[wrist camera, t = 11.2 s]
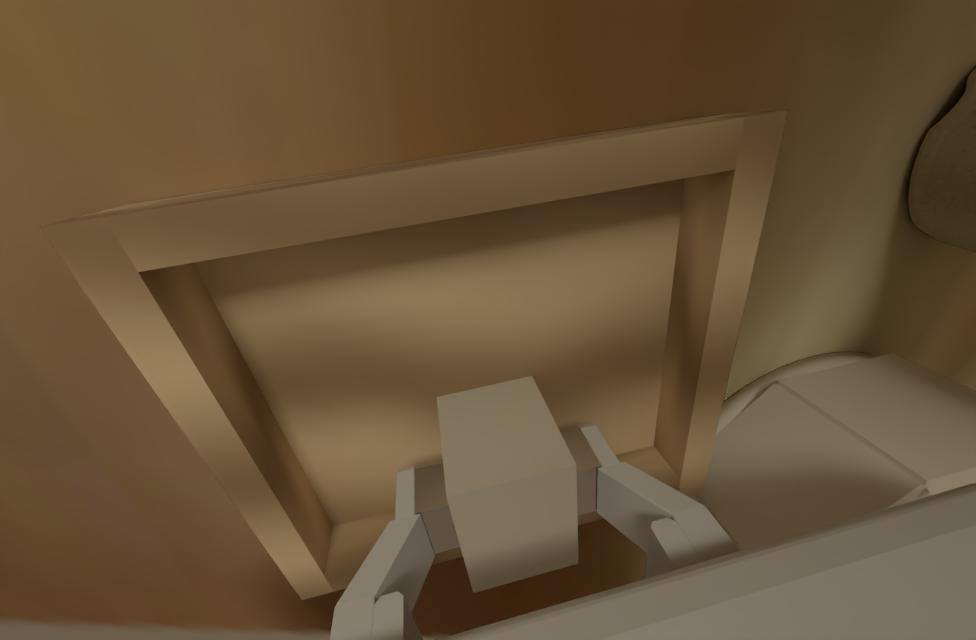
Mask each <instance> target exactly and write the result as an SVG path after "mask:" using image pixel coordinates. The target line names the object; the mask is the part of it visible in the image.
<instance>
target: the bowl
mask: <svg viewBox="0 0 976 640" xmlns="http://www.w3.org/2000/svg"><path fill="white" fill-rule="evenodd" d="M972 483H976V391H975V390H973V389H971V388H968V387H966V386H964V385H962V384H960V383H957V382H955V381H953V380H951V379H949V378H946V377H944V376H942V375H940V374H938V373H936V372H933V371H931V370H929V369H927V368H925V367H922V366H920V365H918V364H916V363H914V362H911V361H909V360H907V359H905V358H903V357H900V356H898V355H896V354H888V355H884V356H879V357H875V356H871V355H868V354H864V353H858V352H832V353H827V354H821V355H816V356H812V357H809V358H805V359H802V360H798V361H796V362H793V363H791V364H788V365H786V366H783V367H781V368H778V369H776V370H774V371H772V372H770V373H768V374H766V375H764V376H762V377H760V378H759V379H757V380H755V381H754V382H752V383H750V384H749V385H747V386H745V387H744V388H742V389H741V390H739V391H738V392H736V393H735V394H734V395H732V396H731V397H730V398H728V399H727V400H725V401H724V402H723V405H722V409H721V414H720V418H719V423H718V427H717V432H716V436H715V441H714V445H713V449H712V454H711V458H710V463H709V467H708V472H707V476H706V481H705V485H704V490H703V492H701V493H698V494H694V495H690V496H688V497H690V498H691V499H693V500H695V501H697V502H699V503H700V504H702V505H704V506H705V507H706V508H707V509H708V511H709V512H710V513H711V514H712V516H713V517H714V518H715V519H716V521H717V522H718V523H719V525H720V526H721V527H722V528H723V530H724V531H725V532H726V533H727V535H728V536H729V537H730V538H731V540H732V541H733V542H734V544H735V545H736V546H737V547H738V549H739V550H740V551H742V550H746V549H749V548H752V547H756V546H759V545H763V544H766V543H770V542H773V541H776V540H780V539H783V538H787V537H790V536H793V535H797V534H800V533H804V532H807V531H811V530H814V529H817V528H821V527H824V526H828V525H831V524H835V523H838V522H841V521H845V520H848V519H852V518H855V517H859V516H862V515H865V514H869V513H872V512H876V511H879V510H883V509H886V508H889V507H893V506H896V505H900V504H903V503H907V502H910V501H913V500H917V499H920V498H924V497H927V496H931V495H934V494H937V493H941V492H944V491H948V490H951V489H955V488H958V487H961V486H965V485H968V484H972Z"/></svg>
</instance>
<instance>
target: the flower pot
mask: <svg viewBox="0 0 976 640" xmlns="http://www.w3.org/2000/svg"><path fill="white" fill-rule="evenodd" d="M908 205H909V211H910V215H911V219H912V221H913V223H914V225H915V226H916V227H917V228H919V229H920V230H922V231H923V232H925V233H926V234H928V235H930V236H931V237H933V238H934V239H936V240H938V241H940V242H943V243H947V244H951V245H954V246H958V247H961V248H964V249H967V250H970V251H973V252H976V68H975V69H974V70H973V71H972V73H971V74H970V75H969V77H968V79H967V83H966V90H965V93H964V94H963V96H962V97H961V99H960V100H959V102H958V103H957V104H956V105H955V106H954V107H953V108H952V109H951V110H950V112H949V113H948V114H946V115H945V116H944V117H943V118H942V119H941V120H940V121H939V122H938V123H937V124H936V125H934V126H933V127H932V128H931V129H930V130H929V131H928V133H927V134H926V136H925V139H924V141H923V143H922V145H921V147H920V150H919V152H918V155H917V157H916V160H915V164H914V167H913V170H912V174H911V179H910V185H909V197H908Z"/></svg>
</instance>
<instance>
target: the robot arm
mask: <svg viewBox="0 0 976 640" xmlns="http://www.w3.org/2000/svg"><path fill="white" fill-rule="evenodd" d="M560 433H561V435H562V437H563V439H564V441H565V443H566V445H567V447H568V449H569V451H570V453H571V455H572V457H573V459H574V461H575V463H576V472H577V515H581V514H586V513H590V512H594V511H597V513H598V514H599V515H600V516H602V517H603V518H604V519H605V520H606V521H608V522H609V523H610V524H611V525H613V526H614V527H615V528H616V529H617V530H619V531H620V532H621V533H622V534H623V535H625V536H626V537H627V538H628V539H630V540H631V541H632V542H633V543H634V544H636V545H637V546H638V547H639V548H641V549H642V550H643V551H644V552H645V553H647V559H646V566H645V573H644V579H643V580H639V581H636V582H632V583H629V584H625V585H622V586H618V587H615V588H612V589H608V590H605V591H601V592H598V593H594V594H591V595H588V596H584V597H581V598H577V599H574V600H570V601H567V602H563V603H560V604H557V605H553V606H550V607H546V608H543V609H539V610H536V611H533V612H529V613H526V614H522V615H519V616H516V617H512V618H509V619H505V620H502V621H498V622H495V623H492V624H488V625H485V626H481V627H478V628H474V629H471V630H468V631H464V632H461V633H457V634H454V635H450V636H447V637H444V638H440V639H437V640H976V483H972V484H968V485H965V486H961V487H958V488H955V489H951V490H948V491H944V492H941V493H937V494H934V495H931V496H927V497H924V498H920V499H917V500H913V501H910V502H907V503H903V504H900V505H896V506H893V507H889V508H886V509H883V510H879V511H876V512H872V513H869V514H865V515H862V516H859V517H855V518H852V519H848V520H845V521H841V522H838V523H835V524H831V525H828V526H824V527H821V528H817V529H814V530H811V531H807V532H804V533H800V534H797V535H793V536H790V537H787V538H783V539H780V540H776V541H773V542H770V543H766V544H763V545H759V546H756V547H752V548H749V549H746V550H742V551H740V550H739V549H738V547H737V546H736V545H735V544H734V542H733V541H732V540H731V538H730V537H729V536H728V535H727V533H726V532H725V531H724V530H723V528H722V527H721V526H720V525H719V523H718V522H717V521H716V519H715V518H714V517H713V516H712V514H711V513H710V512H709V511H708V509H707V508H706V507H705V506H704V505H702V504H700V503H699V502H697V501H695V500H693V499H691V498H690V497H688V496H686V495H684V494H682V493H681V492H679V491H677V490H675V489H673V488H672V487H670V486H668V485H666V484H664V483H663V482H661V481H659V480H657V479H655V478H654V477H652V476H650V475H648V474H646V473H645V472H643V471H641V470H639V469H637V468H636V467H634V466H632V465H630V464H628V463H627V462H620V461H619V460H618V458H617V457H616V455H615V454H614V452H613V451H612V449H611V448H610V446H609V444H608V443H607V441H606V440H605V438H604V437H603V435H602V434H601V432H600V430H599V429H598V427H597V426H596V424H594V423H593V422H592V423H588V424H584V425H580V426H577V427H572V428H568V429H564V430H560ZM457 547H460V544H459V540H458V537H457V533H456V530H455V526H454V523H453V519H452V515H451V512H450V508H449V505H448V501H447V497H446V488H445V478H444V467H443V459H441V460H436V461H431V462H427V463H422V464H417V465H414V466H409V467H405V468H400V469H398V471H397V478H396V501H395V520H392V521H389V523H388V524H387V526H386V528H385V529H384V531H383V532H382V534H381V535H380V537H379V539H378V540H377V542H376V543H375V545H374V546H373V548H372V549H371V551H370V553H369V554H368V556H367V557H366V559H365V560H364V562H363V564H362V565H361V567H360V568H359V570H358V571H357V573H356V574H355V576H354V578H353V579H352V581H351V582H350V584H349V585H348V587H347V589H346V590H345V592H344V593H343V595H342V596H341V598H340V599H339V601H338V603H337V604H336V606H335V609H334V615H333V622H332V628H331V634H330V640H423V638H422V636H421V634H420V632H419V629H418V627H417V625H416V623H415V620H414V618H413V616H412V614H411V613H412V611H413V608H414V606H415V603H416V601H417V598H418V596H419V594H420V591H421V589H422V586H423V584H424V581H425V579H426V577H427V574H428V572H429V569H430V567H431V565H432V562H433V560H434V557H435V555H434V554H437V553H440V552H444V551H447V550H450V549H454V548H457Z"/></svg>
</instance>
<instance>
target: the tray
mask: <svg viewBox="0 0 976 640" xmlns="http://www.w3.org/2000/svg"><path fill="white" fill-rule="evenodd" d="M787 114H788V110H784V111H767V112H751V113H735V114H718V115H708V116H701V117H695V118H688V119H682V120H675V121H669V122H662V123H656V124H649V125H643V126H636V127H630V128H623V129H617V130H610V131H604V132H597V133H591V134H584V135H578V136H571V137H565V138H558V139H552V140H545V141H539V142H532V143H526V144H519V145H513V146H506V147H500V148H493V149H487V150H480V151H474V152H467V153H460V154H454V155H447V156H441V157H434V158H428V159H421V160H415V161H408V162H402V163H395V164H389V165H382V166H376V167H369V168H363V169H356V170H350V171H343V172H337V173H330V174H324V175H317V176H311V177H304V178H298V179H291V180H285V181H278V182H272V183H265V184H259V185H252V186H246V187H239V188H233V189H226V190H220V191H213V192H207V193H200V194H194V195H187V196H180V197H174V198H167V199H161V200H154V201H148V202H141V203H135V204H128V205H124V206H120V207H116V208H112V209H108V210H104V211H100V212H96V213H92V214H88V215H85V216H81V217H77V218H73V219H69V220H65V221H61V222H57V223H53V224H49V225H45V226H41V227H39V228H40V229H41V231H42V232H43V234H44V235H45V237H46V238H47V239H48V241H49V242H50V244H51V245H52V246H53V248H54V249H55V251H56V252H57V254H58V255H59V256H60V258H61V259H62V261H63V262H64V264H65V265H66V266H67V268H68V269H69V271H70V272H71V273H72V275H73V276H74V278H75V279H76V281H77V282H78V283H79V285H80V286H81V288H82V289H83V290H84V292H85V293H86V295H87V296H88V298H89V299H90V300H91V302H92V303H93V305H94V306H95V307H96V309H97V310H98V312H99V313H100V315H101V316H102V317H103V319H104V320H105V322H106V323H107V325H108V326H109V327H110V329H111V330H112V332H113V333H114V334H115V336H116V337H117V339H118V340H119V342H120V343H121V344H122V346H123V347H124V349H125V350H126V351H127V353H128V354H129V356H130V357H131V359H132V360H133V361H134V363H135V364H136V366H137V367H138V368H139V370H140V371H141V373H142V374H143V376H144V377H145V378H146V380H147V381H148V383H149V384H150V385H151V387H152V388H153V390H154V391H155V393H156V394H157V395H158V397H159V398H160V400H161V401H162V403H163V404H164V405H165V407H166V408H167V410H168V411H169V412H170V414H171V415H172V417H173V418H174V420H175V421H176V422H177V424H178V425H179V427H180V428H181V429H182V431H183V432H184V434H185V435H186V437H187V438H188V439H189V441H190V442H191V444H192V445H193V446H194V448H195V449H196V451H197V452H198V454H199V455H200V456H201V458H202V459H203V461H204V462H205V464H206V465H207V466H208V468H209V469H210V471H211V472H212V473H213V475H214V476H215V478H216V479H217V481H218V482H219V483H220V485H221V486H222V488H223V489H224V490H225V492H226V493H227V495H228V496H229V498H230V499H231V500H232V502H233V503H234V505H235V506H236V507H237V509H238V510H239V512H240V513H241V515H242V516H243V517H244V519H245V520H246V522H247V523H248V525H249V526H250V527H251V529H252V530H253V532H254V533H255V534H256V536H257V537H258V539H259V540H260V542H261V543H262V544H263V546H264V547H265V549H266V550H267V551H268V553H269V554H270V556H271V557H272V559H273V560H274V561H275V563H276V564H277V566H278V567H279V568H280V570H281V571H282V573H283V574H284V576H285V577H286V578H287V580H288V581H289V583H290V584H291V586H292V587H293V588H294V590H295V591H296V593H297V594H298V595H299V597H300V598H301V600H305V599H309V598H312V597H316V596H320V595H323V594H327V593H331V592H335V591H338V590H342V589H346V588H347V587H348V585H349V584H350V582H351V581H352V579H353V578H354V576H355V574H356V573H357V571H358V570H359V568H360V567H361V565H362V564H363V562H364V560H365V559H366V557H367V556H368V554H369V553H370V551H371V549H372V548H373V546H374V545H375V543H376V542H377V540H378V539H379V537H380V535H381V534H382V532H383V531H384V529H385V528H386V526H387V524H388V523H389V521H392V520H395V501H396V478H397V471H398V469H400V468H405V467H409V466H414V465H417V464H422V463H427V462H431V461H436V460H441V459H443V457H442V447H441V436H440V426H439V416H438V406H437V397H439V396H444V395H448V394H453V393H457V392H462V391H466V390H471V389H475V388H480V387H484V386H489V385H493V384H498V383H502V382H507V381H511V380H516V379H520V378H525V377H529V376H532V377H533V379H534V381H535V383H536V385H537V387H538V389H539V391H540V393H541V395H542V397H543V399H544V401H545V403H546V405H547V407H548V409H549V411H550V413H551V415H552V417H553V419H554V421H555V423H556V425H557V427H558V429H559V431H560V430H564V429H568V428H572V427H577V426H580V425H584V424H588V423H592V422H593V423H594V424H596V426H597V427H598V429H599V430H600V432H601V434H602V435H603V437H604V438H605V440H606V441H607V443H608V444H609V446H610V448H611V449H612V451H613V452H614V454H615V455H616V457H617V458H618V460H619V461H620V462H627V463H628V464H630V465H632V466H634V467H636V468H637V469H639V470H641V471H643V472H645V473H646V474H648V475H650V476H652V477H654V478H655V479H657V480H659V481H661V482H663V483H664V484H666V485H668V486H670V487H672V488H673V489H675V490H677V491H679V492H681V493H682V494H684V495H686V496H690V495H694V494H698V493H701V492H703V490H704V485H705V481H706V476H707V472H708V467H709V463H710V458H711V454H712V449H713V445H714V441H715V436H716V432H717V427H718V423H719V418H720V414H721V409H722V405H723V400H724V396H725V391H726V387H727V382H728V378H729V374H730V369H731V365H732V360H733V356H734V351H735V347H736V342H737V338H738V333H739V329H740V324H741V320H742V315H743V311H744V307H745V302H746V298H747V293H748V289H749V284H750V280H751V275H752V271H753V266H754V262H755V257H756V253H757V248H758V244H759V240H760V235H761V231H762V226H763V222H764V217H765V213H766V208H767V204H768V199H769V195H770V190H771V186H772V181H773V177H774V172H775V168H776V164H777V159H778V155H779V150H780V146H781V141H782V137H783V132H784V128H785V123H786V119H787ZM577 516H578V526H579V525H583V524H586V523H590V522H594V521H598V520H601V519H604V518H603V517H602V516H600V515H599V514H598V513H597V511H594V512H590V513H586V514H581V515H577ZM434 555H435V557H434V560H433V562H432V565H435V564H438V563H442V562H446V561H449V560H453V559H457V558H460V557H463V555H462V551H461V548H460V547H457V548H454V549H450V550H447V551H444V552H440V553H437V554H434Z"/></svg>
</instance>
